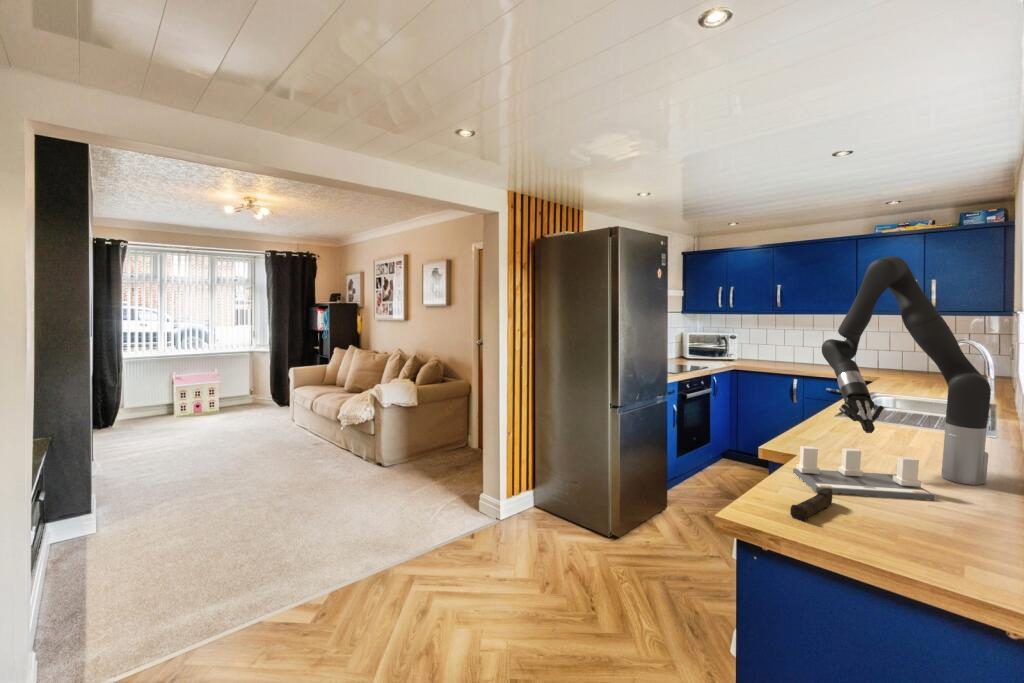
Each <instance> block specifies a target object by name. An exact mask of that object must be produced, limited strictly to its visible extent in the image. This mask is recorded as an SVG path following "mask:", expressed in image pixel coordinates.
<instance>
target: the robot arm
mask: <svg viewBox="0 0 1024 683" xmlns="http://www.w3.org/2000/svg"><path fill="white" fill-rule="evenodd" d="M887 289H888V290H889V291H890V293H891V294H892V295H893V297H894V298H895V300H896V302H897V304H898V307H899V312H900V316H901V319H902V323H903V325H904V327H905V328H906V329H907V331H908V333H909V334H910V336H911V337H912V339H913V340H914V341H915V343H916V344H917V345H918V347H919V348H920V349H921V350H922V351H923V352H924V353H925V354H926V355H927V356H928V357H929V358H930V360H932V362H934V363H935V365H936V366H937V368H938V370H939V371H940V373H941V375H942V376H943V378H944V379H943V380H945V382H946V385H947V387H948V388H947V400H946V411H945V412H946V413H945V426H944V438H943V450H942V462H941V464H942V465H941V477H942V478H943V479H945V480H948V481H951V482H954V483H958V484H961V485H962V484H963V485H972V486H980V485H986V484H987V474H988V465H989V452H987V451H986V441H987V440H986V439H987V428H988V421H989V418H990V417H989V414H990V405H991V404H990V403H991V393H992V391H991V390H992V389H991V388H992V387H991V385H990V383H989V381H988V379H987V378H985V376H983V375H982V374H981V373H980V372H979V370H977V368H976V367H975V366H974V365H973V364H972V363H971V361H970V360H969V359H968V358H967V356H966V355H965V354H964V352H963V350H962V348H961V347H960V345H959V343H958V341H957V338H956V337H955V335H954V333H953V331H952V330H951V328H950V326H949V325H948V324H947V322H946V320H945V319H944V318H943V316H942V315H941V313H940V312H939V311H938V310H937V309H936V307H935V305H934V304H933V303H932V301H931V300H930V299H929V297H928V296H927V295H926V294H925V292H924V291H923V290H922V288H921V287H920V285H919V283H918V282H917V280H916V278H915V276H914V274H913V272H912V270H911V268H910V266H909V265H908V263H907V262H906V261H905V260H904V259H903V258H902V257H898V256H894V255H891V256H890V255H889V256H885V257H882V258H877V259H876V260H873V261H871V263H870V264H869V265H868V267H867V268H866V272H865V274H864V275H863V279H862V283H861V285H860V288H859V290H858V292H857V295H856V297H855V299H854V301H853V302H852V304H851V306H850V308H849V310H848V311H847V313H846V315H845V317H844V319H843V320H842V321H841V324H840V325H839V327H838V329H837V333H838V335H840V336H841V337H843V338H845V340H839V339H833V338H831V339H827V340H824V342H823V343H822V344H821V353H822V354H821V355H822V357H823V358H824V360H825V361H826V362H827V363H828V365H829V367H830V368H831V369H833V371H834V374H835V376H836V379H837V384H838V388H839V390H840V393H841V396H842V399H843V401H844V403H842V404H841V406H840V407H839V411H840V412H841V413H842V414H844V415H845V416H847V417H848V418H849V419H850V420H852V421H853V422H859V424H860V426H861V428H862V430H863V432H865V433H866V434H873V433H874V431H875V429H876V427H875V425H874V423H875V422H876V420H877V419H878V418H879V417H880V415H881V413H882V412H883V410H884V409H885V408H884V406H882V405H877V404H875V402H874V400H873V399H872V398H871V393H870V391H869V388H868V386H867V384H866V381H865V379H864V377H863V375H862V374H861V371H860V369H859V367H858V363H857V362H856V361H854V360H852V359H853V358H855V357H856V355H857V353H858V350H859V349H858V347H859V344H860V341H861V340H860V339H861V336H862V335H863V333H864V332H865V330H866V328H867V326H868V325H869V323H870V322H871V320H872V317H873V314H874V311H875V307H876V305H877V302H878V301H879V299H880V297H881V296H882V295H883V293H884V292H885V291H887ZM872 410H873V414H872Z"/></svg>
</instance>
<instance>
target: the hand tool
mask: <svg viewBox="0 0 1024 683" xmlns="http://www.w3.org/2000/svg"><path fill="white" fill-rule="evenodd" d="M833 495H834V494H833V493H832V489H830V488H824V489H822V490H819V491H818V492H816V494H815V496H814V495H813V496H812V497H810V498H808V499H806V500H804V501H801V502H800V503H797V504H792V505H791V507H790V512H789V513H790V516H791V517H792V519H795V520H798V521H800V520H801V522H806V521H807V520H808V519H809V517H810V516H812V515H814V514H816V513H818V512H819V511H821V510H823V509H825V510H828V509H829V508H830V507H831V506H832V503H833Z"/></svg>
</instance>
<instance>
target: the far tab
mask: <svg viewBox="0 0 1024 683" xmlns="http://www.w3.org/2000/svg"><path fill="white" fill-rule="evenodd" d="M799 448H800V449H799V463H796V469H798V470H799V471H800V472H801V473H814V474H820V470H821V469H820V468H819V467H818V453H819V452H818V451H819V449H818V448H817V447H815V446H809V445H808V446H807V445H806V446H805V445H800V447H799Z"/></svg>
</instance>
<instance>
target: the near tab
mask: <svg viewBox="0 0 1024 683" xmlns="http://www.w3.org/2000/svg"><path fill="white" fill-rule="evenodd" d="M919 463H920V459H918V458H915V457H913V456H912V457H911V456H897V466H896V474H897V476H893V481H895V482H896V483H898V484H900V485H902V486H918V487H922V481H921V480H919V478H918V477H919Z"/></svg>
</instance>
